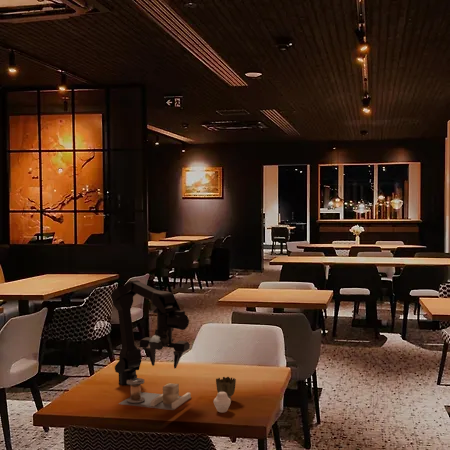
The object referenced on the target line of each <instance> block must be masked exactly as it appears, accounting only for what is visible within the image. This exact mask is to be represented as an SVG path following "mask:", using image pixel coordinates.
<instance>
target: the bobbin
mask: <svg viewBox="0 0 450 450" xmlns="http://www.w3.org/2000/svg"><path fill="white" fill-rule="evenodd" d="M127 384H129V385H128V386H130V396H129V397H128V398H126V399H127V402H128V403H130V404H139V403H143V402H144V401H145V398H144V397H141V392H142V388H141V386H142V385H143V384H145V378H140V377H137V378H132V379H128V380H127Z"/></svg>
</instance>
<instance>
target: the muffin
mask: <svg viewBox="0 0 450 450" xmlns="http://www.w3.org/2000/svg"><path fill="white" fill-rule="evenodd" d="M212 402H213V404H214V407H215V408H216V412H219V413H227V412H228V409H229V408H230V405H231V404H232V403H231V402H232V400H230V398H228V396H227V393H226V392H219V393H218V392H217V394H216V397H215V398H213V401H212Z"/></svg>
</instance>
